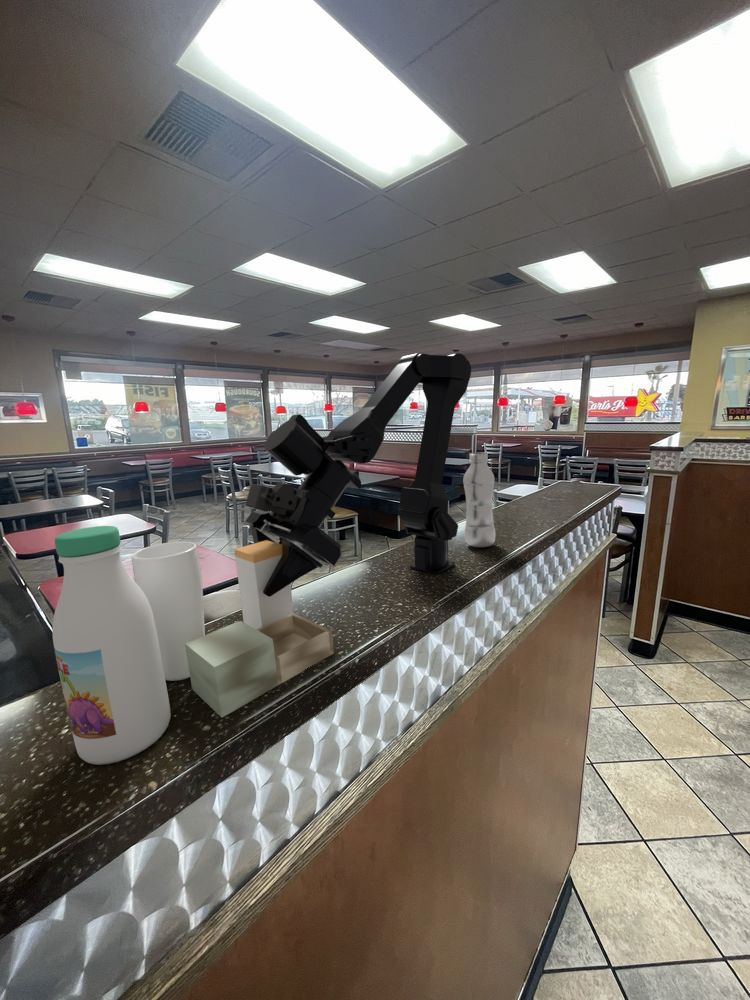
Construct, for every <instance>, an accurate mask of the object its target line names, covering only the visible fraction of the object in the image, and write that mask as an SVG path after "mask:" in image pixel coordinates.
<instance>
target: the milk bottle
mask: <svg viewBox="0 0 750 1000" xmlns="http://www.w3.org/2000/svg"><path fill="white" fill-rule="evenodd" d="M54 546H55V550H56V554H57V555H58V563H59V564H62V566H63V581H62V582H63V583H62V586H61V592H60V595H59V597H58V600H57V604H56V607H55V610H54V615H53V619H52V628H51V629H52V630H51V631H52V632H51V633H52V642H53V648H54V654H55V655H54V656H55V661H56V665H57V671H58V674H59V678H60V683H61V688H62V693H63V697H64V702H65V706H66V707H65V708H66V710H67V711H66V712H67V714H68V715H67V716H68V721H69V725H70V729H71V733H72V737H73V741H74V746H75V749H76V752H77V755H78V757H79V758H80V759H81V760H82V761H84V762H86V763H88V764H91V765H99V766H102V765H110V764H115V763H117V762H121V761H123V760H127V759H129V758H132V757H133V756H136V755H138V754H139V753H141V752H143V751H145V750H146V749H148V748H149V747H150V746H152V745H153V744H154V743H155V742H157V741H158V740H159V739H160V738H161V737H162V735H163V734H164V733H165V732H166V730H167V728H168V726H169V724H170V722H171V721H170V720H171V716H172V714H171V705H170V700H169V699H170V698H169V694H168V688H167V683H166V681H167V680H165V675H164V670H163V664H162V658H161V653H160V648H159V642H158V637H157V631H156V627H155V622H154V618H153V613H152V610H151V607H150V604H149V602H148V600H147V597H146V596H145V594H144V592H143V591H142V590H141V588H140V587H139V586H138V585H137V584H136V582H135V580H134V578H133V577H132V576H131V575H130V573H129V572H128V570H127V568H126V566H125V564H124V563H123V561H122V559H121V558H122V557H121V551H122V550H123V547H121V546H122V545H121V535H120V532H119V528H118V527H116V526H113V525H99V526H97V525H96V526H89V527H83V528H79V529H74V530H69V531H67V532H64V533H61V534H59V535H57V536H56V537H55V538H54Z"/></svg>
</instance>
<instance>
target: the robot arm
mask: <svg viewBox="0 0 750 1000" xmlns="http://www.w3.org/2000/svg"><path fill="white" fill-rule="evenodd" d="M471 376H472V365H471V363H470V361H469V360H468V359H467V357H466V356H465V354H462V353H459V352H457V353H453V354H449V355H441V354H440V355H439V354H428V353H423V352H417V353H413V354H409V355H404V356H402V357H401V358H400V359H398V360H397V363H396V365H395V367H394V368H393V369H392V371H391V372H390V373H389V375H388V376H386V378H385V379H384V381H383V382H382V383H381V384H380V386H379V387H378V388H377V389H376V390H375V391H374V392H373V394H372V395H371V397H370V398H369V399H368V400H367V402H366V403H364V404H363V406H362V407H361V409H359V410H357V411H356V412H355V413H353V414H352V415H350V416H348V417H346V418H345V419H343V420H342V421H341V422H340V423H338V424H337V425H336V426H335V427H334V428H332V429H331V431H330V432H329V433H328V435H326V436H321V435H320V434H319V433H318V432H317V431H316V430H315V429H314V428H313V427H312V426H311V425H310V423H309V421H308V419H306V418H305V417H304V416H303V415H302V414H301V413H300V414H292V415H291V417H289V419H288V420H287V421H285V422H284V423H282V424H281V425H280V426H278V427H277V428H276V429H275V430H273V431H271V433H270V434H269V435H268V437H267V438H266V440H265V441H264V446H263V448H264V450H265V451H266V452H267V453H268V454H269V455H270V456H272V457H273V458H274V459H275V460H277V462H279V463H280V464H281V465H282V466H283V467H284V468H285V469H286V470H287V471H289V472H290V473H291V474H292V475H294V476H296V477H297V476H301V475H307V476H306V477H305V479H304V480H303V481H302V483H301V484H300V485H299V487H298V488H296V487H294V486H293V485H289V484H286V483H283V482H278V483H276V484H275V485H274V487H270V486H265V485H262V484H257V483H251V484H250V487H249V490H248V494H247V496H246V500H245V503H244V506H245V507H249V508H252V509H256V510H254V511H253V510H252V511H251V513H250V514H248V515H249V516H248V517H247V518H246V519H245V523H246V524H247V525H249V531H250V532H251V535H252V540H253V543H252V544H254V543H258V542H262V541H265V540H268V541H271V542H275V543H279V544H282V557H281V559H280V560H279V562H278V564H277V566H276V568H275V570H274V571H273V573H272V575H271V577H270V579H269V581H268V582H267V585H266V587H265V589H264V591H263V593H264V594H265V595H267V596H268V597H270V596H272V595H274V594H275V593H277V592H278V591H280V590H281V589H283V588H284V587H286V586H287V585H289V584H290V583H291V584H292V583H294V582H296V581H297V580H298V579H300V578H302V577H303V576H305V575H307V574H309V573H311V572H312V571H314V570H315V569H317V568H319V569H321V568H322V567H324V566H323V563H324V564H327V565H328V566H331V567H334V568H335V567H336V566H337V564H338V563H339V561H340V559H341V557H342V556H343V551H342V548H343V547H342V545H341V544H340V543H339V542H337V541H336V540H335V539H334V538H333V537H331V536H330V535H329V534H328V533H326V532H325V531H324V530H322V529H321V526H322V525H323V524H324V523H325V521H326V519H330V520H333V519H334V517H335V516H336V514H337V513H336V512H335V511H333V508H334V507H335V505H336V504H337V502H338V501H339V499H340V497H341V496H342V495H343V493H344V492H345V490H346V488H352V489H353V488H354V489H358V490H359V489H362V486H363V485H362V480H361V478H360V471H359V470H353V469H350V468H349V467H348V466H347V465H346V464H345V463H347V464H348V463H349V464H368V463H370V462H371V461H372V460H373V459H374V458H375V457H376V455H377V453H378V451H379V450H380V447H381V446H382V444H383V442H384V439H385V429H386V427H387V425H388V424H389V422H391V420H392V418H393V417H394V416H395V415H396V413H397V412H398V411H399V409H400V408H401V407H402V405H403V404H404V403H405V401H407V399H408V398H409V396H410V395H411V394H412V393H413V391H414V390H415V388H417V386H418V385H419V384H422V386H421V387H422V391H423V394H424V397H425V399H426V402H427V404H426V405H427V406H426V411H425V412H426V413H425V418H424V424H423V430H422V435H421V442H420V447H419V453H418V459H417V464H416V465H417V466H416V471H415V477H414V479H413V481H412V482H411V484H410V485H409V487H404V486H403V487H401V490H400V498H399V499H400V500H399V503H398V505H397V510H398V511H399V513H398V515H399V520H401V522H402V525H403V526H404V529H405V532H406V535H412V536H415V537H414V538H413V539H414V546H413V556H414V562H413V563H410V564H409V565H408V566H409V568H410V569H414V570H418V571H422V572H425V573H428V574H429V573H430V574H434V575H438V574H441V573H442V572H443V571H446V570H448V569H450V568H452V567H453V566H455V565H456V561H454V560H449V542H448V541H451V540H453V538H455V537H457V535H458V530H459V524H458V523H457V522H456V520H454V519H453V518H452V516H451V515H450V514H449V513H448V497H447V495H446V492H445V489H444V487H443V478H444V473H445V468H446V463H447V462H446V461H447V455H448V449H449V443H450V439H451V438H450V437H451V431H452V426H453V420H454V414H455V409H456V406H457V405H458V403H459V401H460V400H461V399H462V398H463V397H464V395H465V394H466V392H467V389H468V385H469V383H470V380H471ZM321 562H323V563H321Z"/></svg>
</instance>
